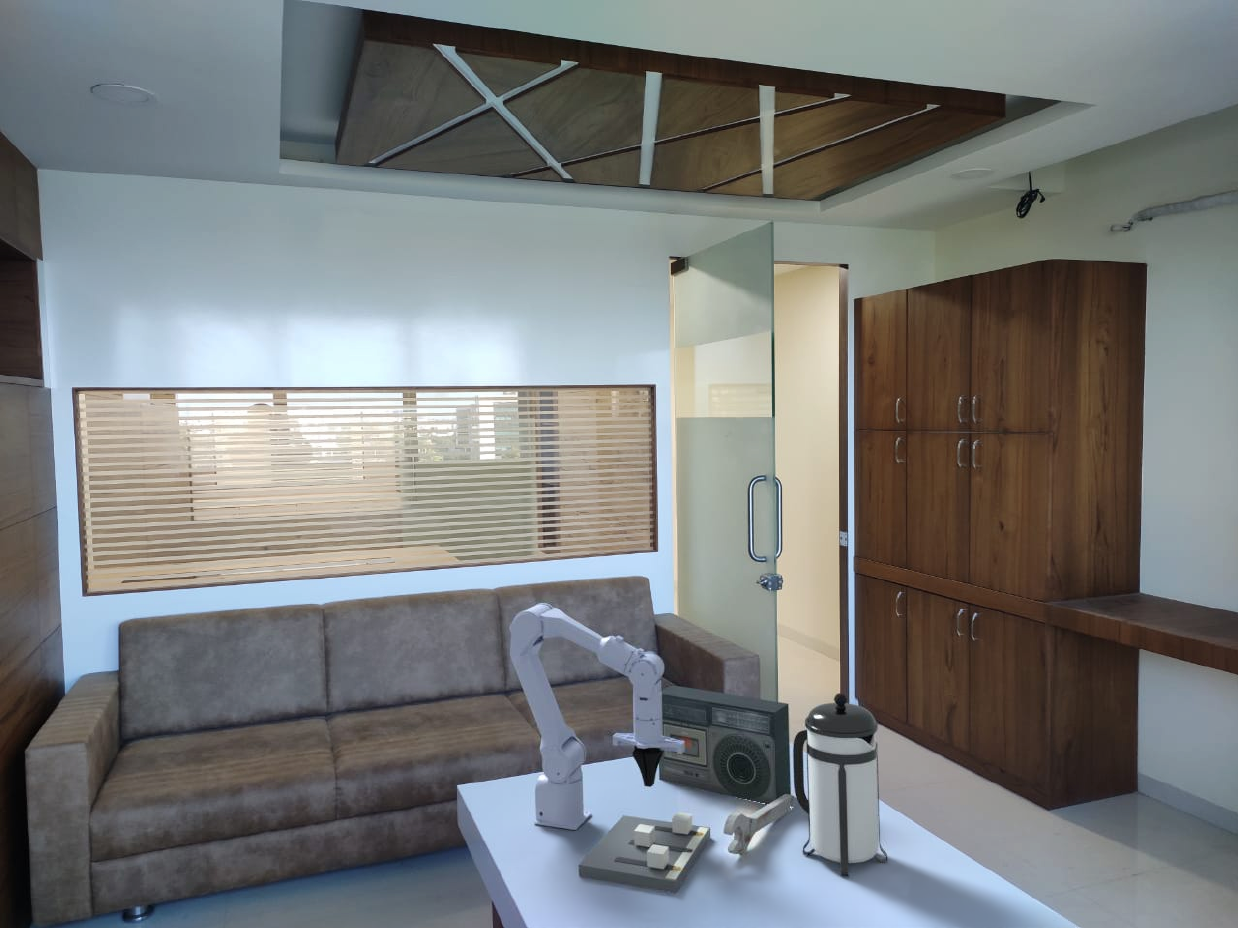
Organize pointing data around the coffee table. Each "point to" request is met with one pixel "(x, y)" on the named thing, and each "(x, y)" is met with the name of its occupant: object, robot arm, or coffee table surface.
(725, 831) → the wrench
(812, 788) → the coffee press
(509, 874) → the coffee table surface
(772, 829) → the coffee table surface
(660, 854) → the switch tab
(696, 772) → the cassette player
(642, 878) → the switch board
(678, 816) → the switch tab
